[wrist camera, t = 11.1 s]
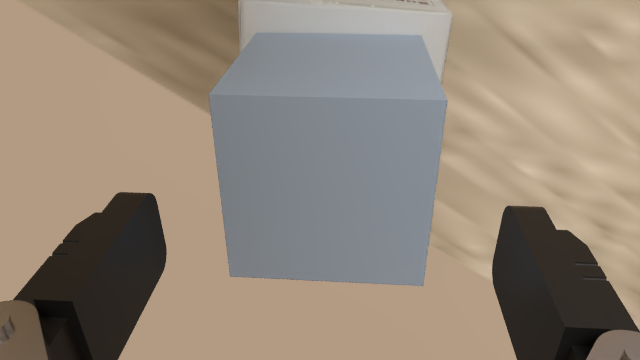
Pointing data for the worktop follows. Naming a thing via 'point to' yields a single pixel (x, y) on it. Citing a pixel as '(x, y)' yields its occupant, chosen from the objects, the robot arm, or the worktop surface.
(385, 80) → the blue block
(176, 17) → the worktop surface
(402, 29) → the supplement box
